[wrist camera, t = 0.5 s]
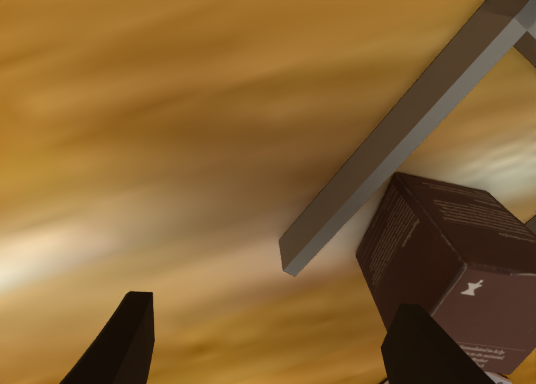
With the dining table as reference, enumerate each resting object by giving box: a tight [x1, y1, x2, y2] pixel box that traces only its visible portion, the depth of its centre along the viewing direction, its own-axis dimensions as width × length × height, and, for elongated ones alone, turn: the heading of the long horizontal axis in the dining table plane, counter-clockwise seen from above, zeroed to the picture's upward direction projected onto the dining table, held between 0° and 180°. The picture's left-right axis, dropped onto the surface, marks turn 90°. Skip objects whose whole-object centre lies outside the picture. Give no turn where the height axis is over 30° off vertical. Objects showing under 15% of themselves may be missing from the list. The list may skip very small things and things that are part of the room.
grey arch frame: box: [279, 0, 536, 277], centre depth 20 cm, size 13×15×2 cm
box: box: [356, 173, 536, 374], centre depth 19 cm, size 6×6×7 cm
